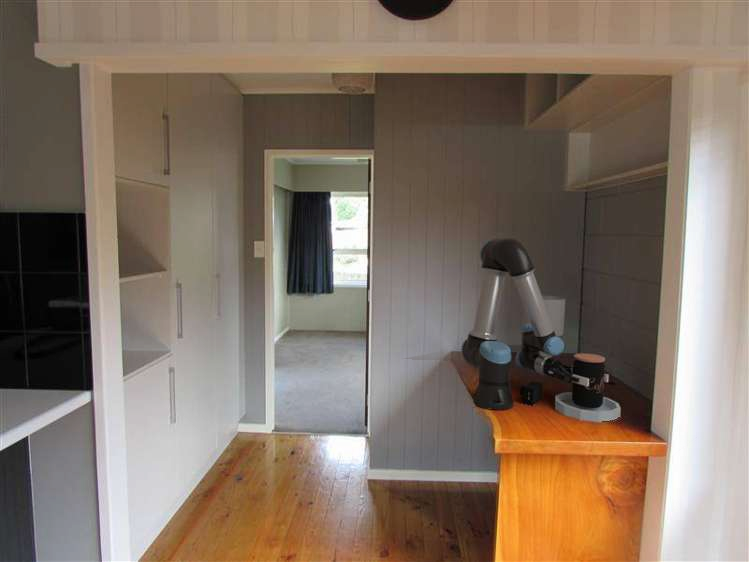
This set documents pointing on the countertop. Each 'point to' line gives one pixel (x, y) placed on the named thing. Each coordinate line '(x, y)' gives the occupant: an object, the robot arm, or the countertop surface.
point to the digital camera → (531, 393)
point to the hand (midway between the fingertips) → (598, 380)
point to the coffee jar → (595, 372)
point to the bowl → (587, 409)
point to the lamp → (552, 315)
